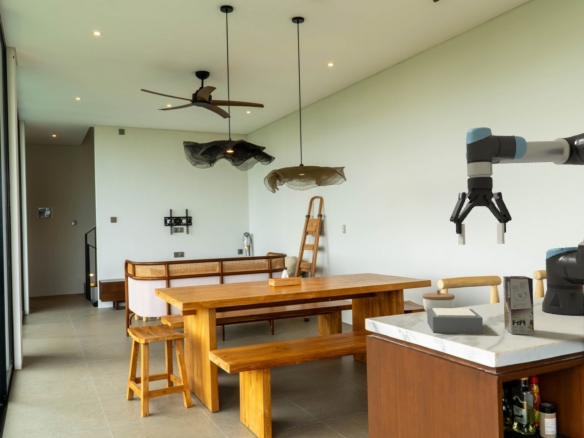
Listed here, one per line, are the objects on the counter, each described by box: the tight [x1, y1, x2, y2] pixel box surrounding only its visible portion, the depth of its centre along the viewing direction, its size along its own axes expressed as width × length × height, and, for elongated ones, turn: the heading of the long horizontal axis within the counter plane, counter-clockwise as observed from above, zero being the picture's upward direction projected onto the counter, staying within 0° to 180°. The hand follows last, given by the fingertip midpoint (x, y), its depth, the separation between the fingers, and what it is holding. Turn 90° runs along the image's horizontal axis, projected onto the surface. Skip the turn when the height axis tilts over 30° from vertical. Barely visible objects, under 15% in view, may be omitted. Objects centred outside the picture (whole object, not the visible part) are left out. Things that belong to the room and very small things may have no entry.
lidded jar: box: [422, 289, 456, 314], centre depth 172 cm, size 11×11×9 cm
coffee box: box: [502, 275, 535, 336], centre depth 146 cm, size 9×6×16 cm
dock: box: [426, 307, 484, 335], centre depth 152 cm, size 14×16×5 cm
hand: (481, 244), depth 156 cm, fingers open, 13 cm apart
